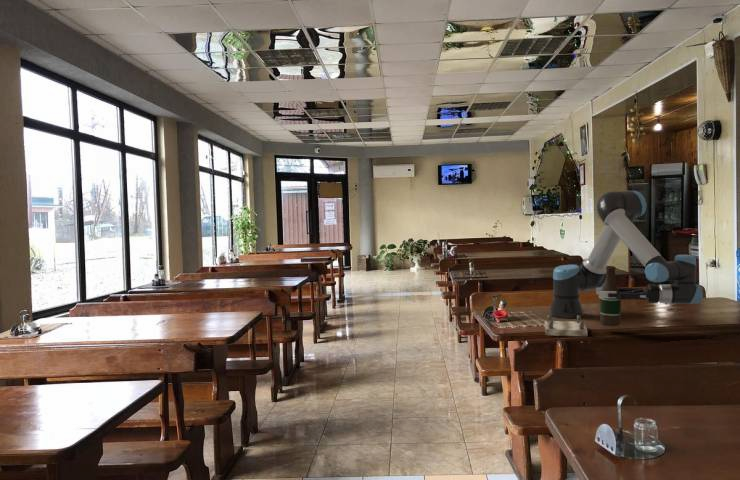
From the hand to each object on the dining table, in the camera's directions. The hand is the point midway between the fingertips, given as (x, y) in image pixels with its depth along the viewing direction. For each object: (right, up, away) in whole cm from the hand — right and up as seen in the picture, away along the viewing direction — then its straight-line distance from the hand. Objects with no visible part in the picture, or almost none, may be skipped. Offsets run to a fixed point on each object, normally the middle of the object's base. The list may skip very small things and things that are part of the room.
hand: (597, 292), depth 240 cm
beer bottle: (+5, -13, 0) cm, 14 cm away
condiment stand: (-12, -17, +5) cm, 21 cm away
